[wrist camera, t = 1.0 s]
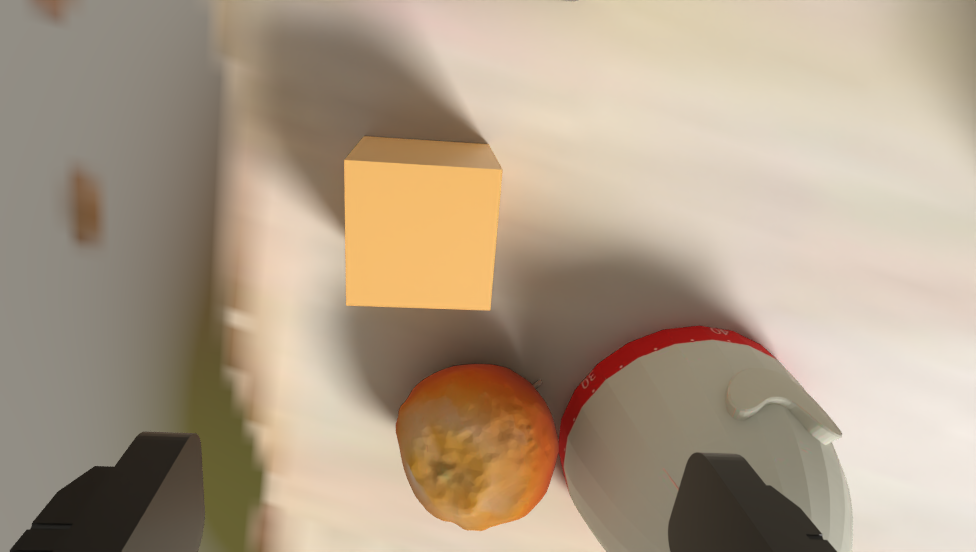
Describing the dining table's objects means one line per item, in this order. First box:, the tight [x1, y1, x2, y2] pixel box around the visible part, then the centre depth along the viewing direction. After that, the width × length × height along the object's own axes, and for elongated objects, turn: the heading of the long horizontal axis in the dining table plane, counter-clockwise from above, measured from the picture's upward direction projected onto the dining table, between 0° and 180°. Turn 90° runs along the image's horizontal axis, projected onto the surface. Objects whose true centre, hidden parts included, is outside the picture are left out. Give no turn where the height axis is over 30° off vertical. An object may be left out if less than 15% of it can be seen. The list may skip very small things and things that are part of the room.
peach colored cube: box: [344, 136, 502, 311], centre depth 24 cm, size 6×6×6 cm
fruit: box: [396, 364, 559, 531], centre depth 29 cm, size 8×8×8 cm
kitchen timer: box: [559, 326, 853, 552], centre depth 26 cm, size 14×14×15 cm
